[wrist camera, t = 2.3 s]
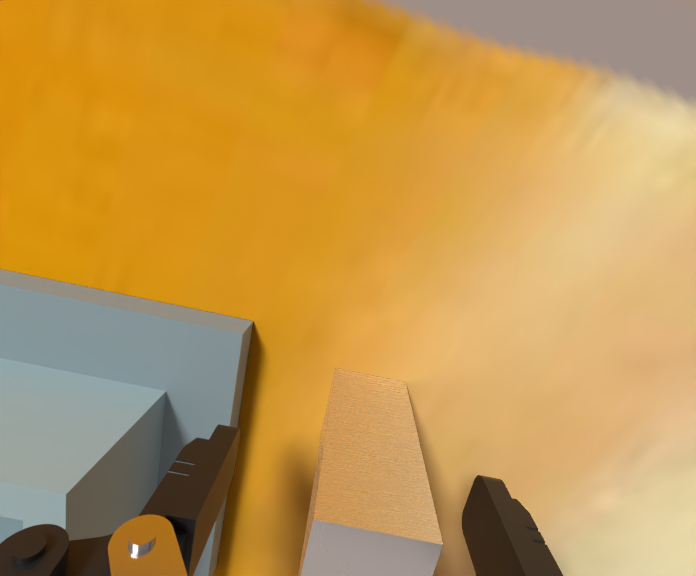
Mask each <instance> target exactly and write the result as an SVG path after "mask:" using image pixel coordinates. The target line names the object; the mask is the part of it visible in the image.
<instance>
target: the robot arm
mask: <svg viewBox="0 0 696 576" xmlns="http://www.w3.org/2000/svg"><path fill="white" fill-rule="evenodd" d="M240 434H241V429H240V428H236V427H230V426H225V425H220V424H218V425H217V427H216V428H215V430H214V432H213V433H212V435H211V437H210V439H209V440H208V439H203V438H198V437H197V438H195V439H194V440H193V441H191V442H190V443H188V444H187V445H186V446H184V447H183V449H182V450H181V452H180V453H179V455H178V456H177V458H176V459H175V462H173V464H172V465H171V467H170V468H169V470H168V473H166V475H165V476H164V478H163V479H162V481H161V482H160V484H159V485H158V487H157V488H156V490H155V492H154V493H153V495H152V496H151V498H150V499H149V501H148V502H147V504H146V505H145V507H144V508H143V510H142V511H141V513H140V514H139V516H138V517H135V518H133V519H131V520H129V521H127V522H126V523H124V524H123V525H121V526H120V527H119V528H118V529H117V530H116V531H115V532H114V533H113V534H110V535H106V536H102V537H96V538H87V539H79V540H70V541H69V536H68V533H67V532H66V530H65V529H63V528H62V527H60V526H58V525H54V524H40V525H35V526H31V527H28V528H25V529H23V530H20V531H18V532H16V533H14V534H13V535H11V536H10V537H8V538H7V539H5V540H4V541H3V542H1V543H0V576H193V575H194V572H195V570H196V567H197V565H198V562H199V560H200V558H201V555H202V553H203V550H204V548H205V545H206V543H207V541H208V538H209V536H210V533H211V531H212V528H213V526H214V524H215V521H216V519H217V516H218V514H219V511H220V509H221V507H222V504H223V502H224V499H225V497H226V494H227V492H228V490H229V487H230V484H231V481H232V478H233V474H234V470H235V465H236V459H237V452H238V446H239V440H240ZM462 529H463V534H464V537H465V540H466V543H467V546H468V550H469V553H470V556H471V559H472V562H473V565H474V569H475V572H476V575H477V576H563V574H562V573H561V571H560V569H559V567H558V565H557V563H556V561H555V560H554V558H553V556H552V554H551V552H550V550H549V548H548V547H547V545H545V541H544V539H543V537H542V535H541V533H540V532H538V528H537V526H536V524H535V522H534V520H533V519H532V517H531V515H530V513H529V512H528V511H527V510H526V509H525V508H524V507H523V506H522V505H521V503H520V502H519V501H518V500H517V499H512V498H511V496H510V494H509V492H508V490H507V488H506V486H505V484H504V482H503V481H502V480H500V479H496V478H491V477H485V476H480V475H478V476H477V477H476V478H475V480H474V482H473V485H472V488H471V491H470V493H469V496H468V499H467V502H466V504H465V507H464V510H463V514H462Z"/></svg>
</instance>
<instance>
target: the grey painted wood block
mask: <svg viewBox="0 0 696 576" xmlns="http://www.w3.org/2000/svg"><path fill="white" fill-rule="evenodd" d="M442 547H443V542H442V537H441V533H440V529H439V524H438V520H437V516H436V511H435V507H434V503H433V498H432V494H431V490H430V485H429V481H428V477H427V472H426V468H425V464H424V459H423V455H422V451H421V446H420V442H419V438H418V433H417V429H416V425H415V420H414V416H413V412H412V407H411V403H410V398H409V394H408V390H407V385H406V382H403V381H398V380H393V379H388V378H383V377H378V376H373V375H368V374H363V373H359V372H354V371H349V370H344V369H339V368H335V372H334V377H333V381H332V386H331V391H330V395H329V400H328V405H327V409H326V414H325V418H324V423H323V428H322V433H321V439H320V446H319V452H318V458H317V464H316V470H315V476H314V482H313V488H312V495H311V501H310V507H309V513H308V519H307V525H306V531H305V537H304V544H303V550H302V556H301V562H300V568H299V573H298V576H433V573H434V570H435V567H436V565H437V562H438V559H439V556H440V553H441V550H442Z"/></svg>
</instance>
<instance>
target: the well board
mask: <svg viewBox="0 0 696 576" xmlns="http://www.w3.org/2000/svg"><path fill="white" fill-rule="evenodd" d="M252 327H253V321H250V320H245V319H240V318H235V317H231V316H226V315H221V314H216V313H211V312H206V311H201V310H196V309H192V308H187V307H182V306H177V305H172V304H167V303H162V302H157V301H153V300H148V299H143V298H138V297H133V296H128V295H123V294H118V293H113V292H109V291H104V290H99V289H94V288H89V287H84V286H79V285H74V284H70V283H65V282H60V281H55V280H50V279H45V278H40V277H35V276H31V275H26V274H21V273H16V272H11V271H6V270H1V269H0V543H1V542H3V541H4V540H5V539H7V538H8V537H10V536H11V535H13V534H14V533H16V532H18V531H20V530H23V529H25V528H28V527H31V526H35V525H40V524H54V525H58V526H60V527H62V528H63V529H65V530H66V532H67V533H68V536H69V541H70V540H79V539H87V538H96V537H102V536H106V535H110V534H113V533H114V532H115V531H116V530H117V529H118V528H119V527H120V526H121V525H123V524H124V523H126V522H127V521H129V520H131V519H133V518H135V517H138V516H139V514H140V513H141V511H142V510H143V508H144V507H145V505H146V504H147V502H148V501H149V499H150V498H151V496H152V495H153V493H154V492H155V490H156V488H157V487H158V485H159V484H160V482H161V481H162V479H163V478H164V476H165V475H166V473H168V470H169V468H170V467H171V465H172V464H173V462H175V459H176V458H177V456H178V455H179V453H180V452H181V450H182V449H183V447H184V446H186V445H187V444H188V443H190V442H191V441H193V440H194V439H195V438H197V437H198V438H203V439H208V440H209V439H210V437H211V435H212V433H213V432H214V430H215V428H216V427H217V425H218V424H220V425H225V426H230V427H236V428H237V427H238V420H239V413H240V407H241V400H242V393H243V387H244V380H245V373H246V367H247V360H248V353H249V347H250V340H251V333H252ZM227 493H228V492H227ZM226 500H227V494H226V497H225V499H224V502H223V504H222V507H221V509H220V511H219V514H218V516H217V519H216V521H215V524H214V526H213V528H212V531H211V533H210V536H209V538H208V541H207V543H206V545H205V548H204V550H203V553H202V555H201V558H200V560H199V562H198V565H197V567H196V570H195V572H194V575H193V576H213V575H214V572H215V570H216V567H217V560H218V553H219V547H220V540H221V533H222V527H223V520H224V513H225V507H226Z"/></svg>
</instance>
